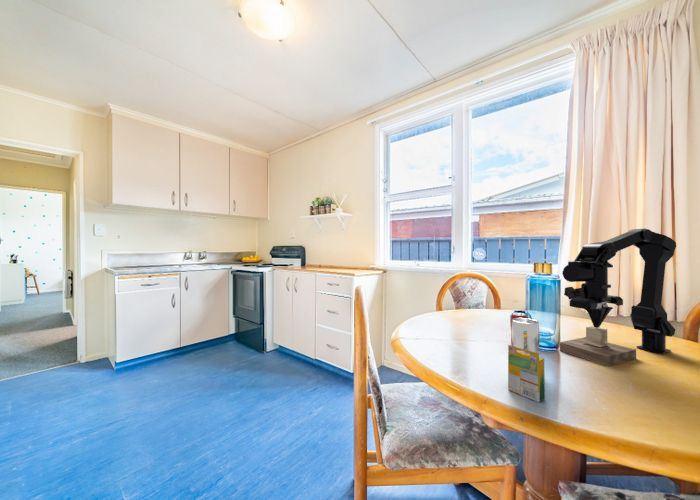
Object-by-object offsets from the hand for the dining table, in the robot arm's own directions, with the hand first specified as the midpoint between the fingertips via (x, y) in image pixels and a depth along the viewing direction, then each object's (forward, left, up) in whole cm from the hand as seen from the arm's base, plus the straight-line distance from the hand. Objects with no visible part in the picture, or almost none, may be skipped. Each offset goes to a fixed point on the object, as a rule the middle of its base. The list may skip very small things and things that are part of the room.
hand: (596, 327), depth 94 cm
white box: (+34, 0, -9) cm, 35 cm away
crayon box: (+46, +9, -10) cm, 48 cm away
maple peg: (0, 0, -9) cm, 9 cm away
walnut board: (0, 0, -9) cm, 9 cm away
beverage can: (+17, -15, -9) cm, 25 cm away
